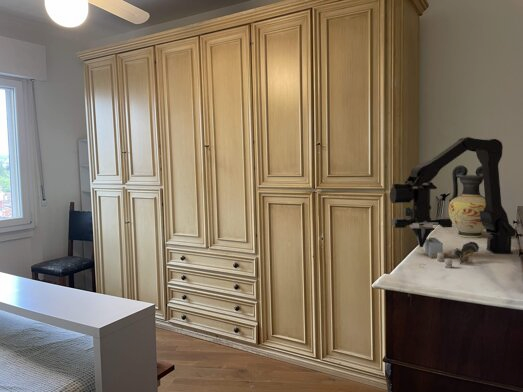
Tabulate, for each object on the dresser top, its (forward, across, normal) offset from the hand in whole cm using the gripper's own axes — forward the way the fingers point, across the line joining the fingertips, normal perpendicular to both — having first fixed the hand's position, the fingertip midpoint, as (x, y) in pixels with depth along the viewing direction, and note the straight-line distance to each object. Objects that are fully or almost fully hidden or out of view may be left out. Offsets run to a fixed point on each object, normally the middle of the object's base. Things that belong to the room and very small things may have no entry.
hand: (421, 246), depth 142 cm
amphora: (+3, -29, -36) cm, 46 cm away
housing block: (+3, -4, 0) cm, 5 cm away
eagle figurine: (+3, -11, +9) cm, 15 cm away
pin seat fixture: (+3, -7, +7) cm, 11 cm away
